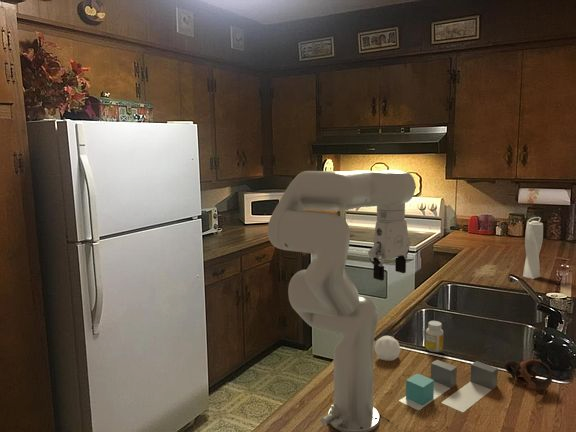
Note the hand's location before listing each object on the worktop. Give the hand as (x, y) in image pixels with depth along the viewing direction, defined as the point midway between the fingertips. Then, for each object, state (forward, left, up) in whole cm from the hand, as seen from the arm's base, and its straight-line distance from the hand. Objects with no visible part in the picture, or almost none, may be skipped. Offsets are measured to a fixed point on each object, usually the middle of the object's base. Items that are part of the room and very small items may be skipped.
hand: (389, 275), depth 134 cm
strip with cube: (-2, -14, -30) cm, 33 cm away
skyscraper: (+122, +9, -30) cm, 126 cm away
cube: (-6, -14, -29) cm, 33 cm away
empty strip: (+5, -22, -30) cm, 38 cm away
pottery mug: (+23, -29, -30) cm, 48 cm away
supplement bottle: (+22, -1, -30) cm, 37 cm away
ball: (+7, +6, -30) cm, 31 cm away
